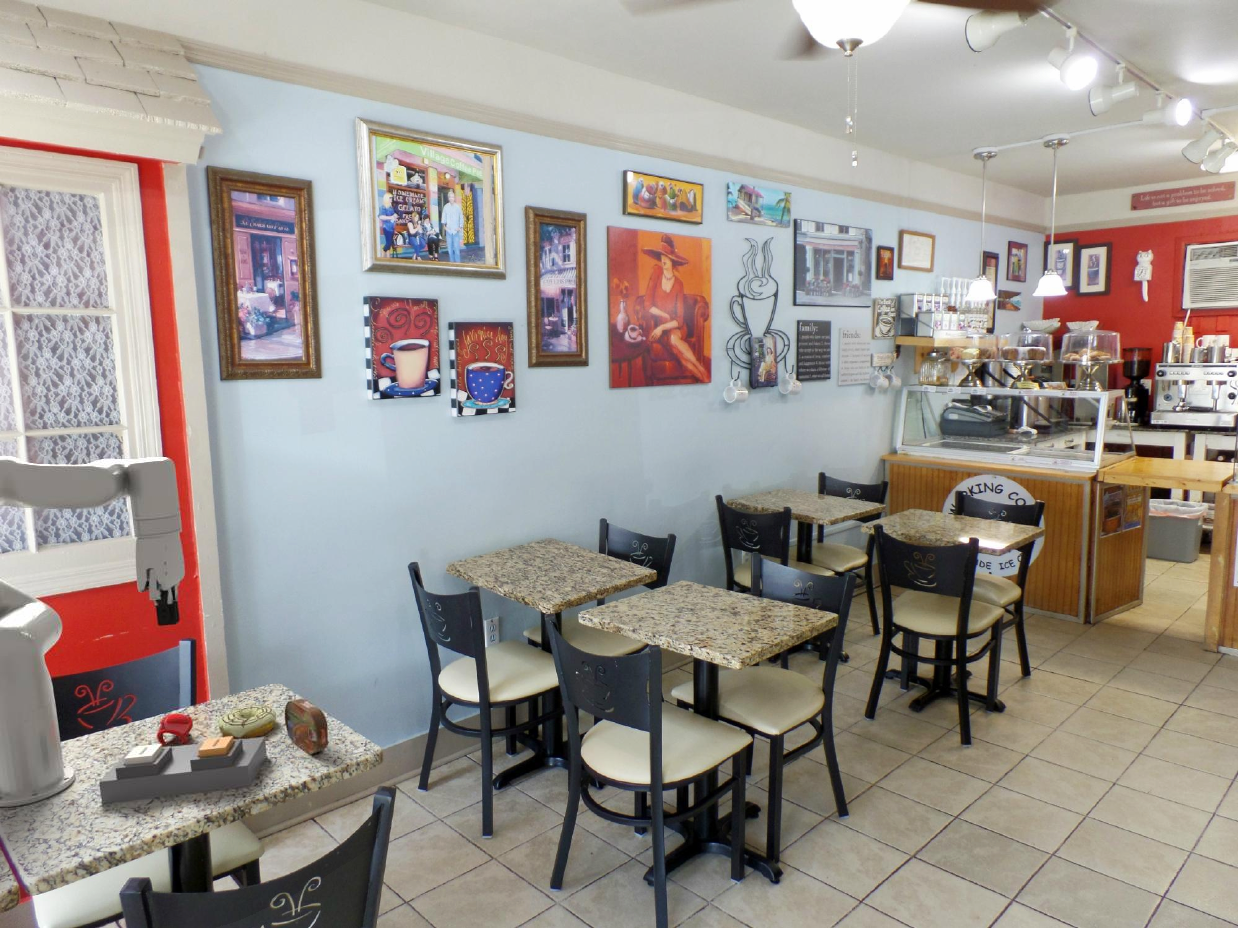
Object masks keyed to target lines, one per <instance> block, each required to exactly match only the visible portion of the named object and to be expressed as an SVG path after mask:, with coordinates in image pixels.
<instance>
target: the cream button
mask: <svg viewBox="0 0 1238 928" xmlns="http://www.w3.org/2000/svg"><path fill="white" fill-rule="evenodd" d="M162 747H163V746H162V744H160V743H156V744H147V745H138V746H136V745H135V746H134V748H132V749H131V750H130V751H131V752H130V753H129V754H128V755H127V756H126V757H125V758H124V759H125V765H132V764H141V763H150V762H154V761H155V760H156V759H157V758H158V756H159V755H160V754H161V753H162V752H163V749H162Z"/></svg>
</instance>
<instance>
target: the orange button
mask: <svg viewBox="0 0 1238 928" xmlns="http://www.w3.org/2000/svg"><path fill="white" fill-rule="evenodd" d="M233 740H234V739H233V736H229V737H226V736H220V737H212V738H206V740H205V741H204V742H203V743H204V744H203V743H202V744H203V745H202V746H201V748H200V749H199V750H198V751H199V757H206V756H215V755H224V754H228V752H229V751H230V749H231V748H232V746H233V745H234V741H233Z"/></svg>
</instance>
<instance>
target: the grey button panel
mask: <svg viewBox="0 0 1238 928" xmlns="http://www.w3.org/2000/svg"><path fill="white" fill-rule="evenodd" d="M233 741H234V745H233V746H232V748H231V749H230V751H229V752H228V754H224V755H215V756H206V757H199V751H198V750H199V749H200V748H201V746H202V745H203V744H204V742H202V743H195V744H194V743H193V744H184V745H178V746H177V745H176V746H170V745H169V746H168V745H167V746H162V749H163V752H162V753H161V754H160V755H159V756H158V758H157V759H156V760H155V761H154V762H150V763H141V764H132V765H125V759H124V758H125V757H126V756H127V755H128V754H129V753H130V752H131V751H132V750H130V751H126V753H124V755H123V756H122V757H121V758H119V760H118V761H117V762H116V763H115V765H113V766H112V768H111V769H110V770H108V772H107V773H106V774H105V775H104V776H103V777H102V778H101V779H100V781H98V782H99V792H100V799H101V804H102V805H103V804H104V805H105V804H111V803H120V802H129V801H130V802H131V801H137V800H147V799H155V798H162V797H163V798H164V797H173V796H182V795H190V794H198V793H207V792H217V791H224V790H225V791H226V790H232V789H234V788H235V789H242V788H243V789H244V788H250V787H251V786H252V784H253V782H254V780H255V779H256V777H257V775H258V773H259V771H260V770H261V768H262V766H263V765H264V763H265V761H266V759H267V758H268V754H267V744H266V737H265V736H262V737H252V738H249V739H233ZM235 789H234V790H235Z"/></svg>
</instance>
